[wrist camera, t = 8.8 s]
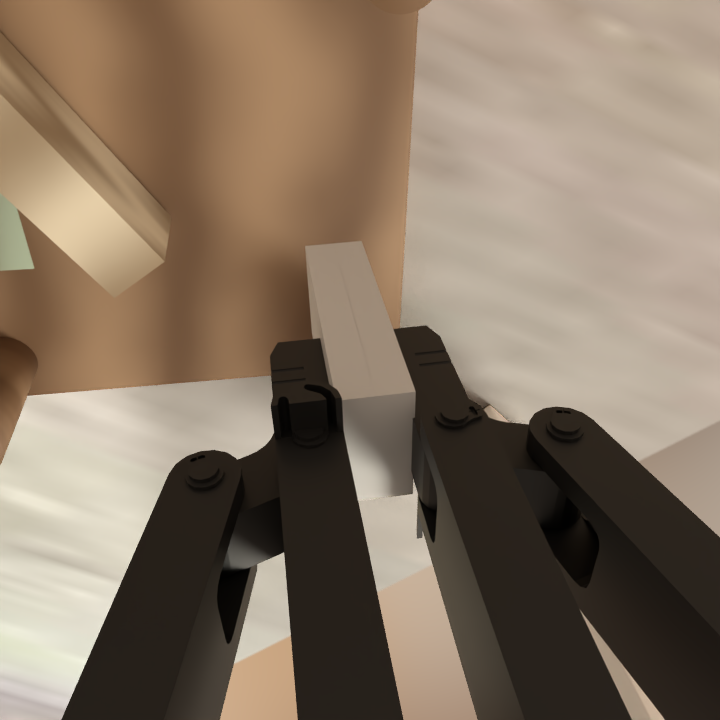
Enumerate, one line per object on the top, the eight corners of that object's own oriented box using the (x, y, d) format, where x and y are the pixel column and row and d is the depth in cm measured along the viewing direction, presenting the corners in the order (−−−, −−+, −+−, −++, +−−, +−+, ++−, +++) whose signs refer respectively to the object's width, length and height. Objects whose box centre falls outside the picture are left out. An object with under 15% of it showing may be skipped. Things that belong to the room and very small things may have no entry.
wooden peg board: (-15, 374, 33) (-74, 495, 26) (-208, -138, 21) (-396, -147, 15) (389, 342, 36) (426, 444, 29) (412, -124, 24) (481, -127, 18)
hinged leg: (-169, -34, 21) (-253, -17, 17) (-108, -94, 20) (-181, -89, 17) (123, 252, 28) (107, 309, 24) (175, 214, 27) (168, 266, 24)
